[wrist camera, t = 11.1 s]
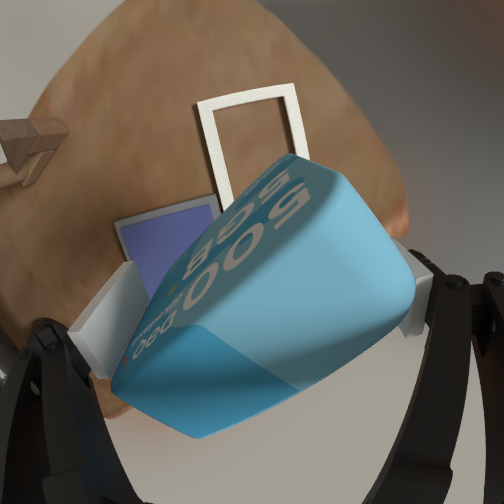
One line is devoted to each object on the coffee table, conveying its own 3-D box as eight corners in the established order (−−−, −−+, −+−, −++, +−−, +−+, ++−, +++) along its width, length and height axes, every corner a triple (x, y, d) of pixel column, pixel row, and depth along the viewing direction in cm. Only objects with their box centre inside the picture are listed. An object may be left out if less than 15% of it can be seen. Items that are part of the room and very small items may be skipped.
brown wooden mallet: (70, 132, 30) (-21, 143, 13) (36, 182, 32) (-44, 217, 16) (59, 117, 29) (-31, 122, 12) (26, 168, 31) (-54, 196, 15)
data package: (287, 150, 16) (359, 176, 5) (332, 200, 18) (436, 297, 7) (166, 270, 20) (100, 401, 9) (211, 306, 21) (185, 447, 10)
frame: (232, 241, 37) (232, 243, 37) (198, 103, 30) (197, 102, 29) (318, 223, 37) (320, 224, 36) (292, 84, 29) (293, 83, 28)
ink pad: (156, 317, 42) (154, 323, 41) (117, 220, 36) (112, 223, 34) (245, 302, 41) (245, 308, 40) (215, 192, 35) (214, 195, 33)
